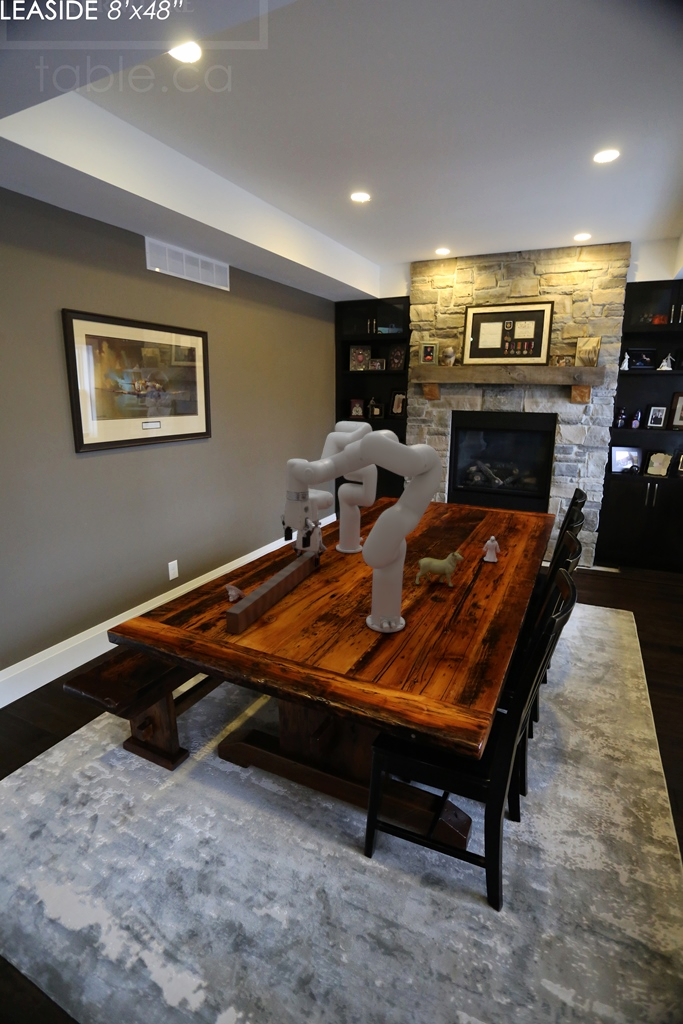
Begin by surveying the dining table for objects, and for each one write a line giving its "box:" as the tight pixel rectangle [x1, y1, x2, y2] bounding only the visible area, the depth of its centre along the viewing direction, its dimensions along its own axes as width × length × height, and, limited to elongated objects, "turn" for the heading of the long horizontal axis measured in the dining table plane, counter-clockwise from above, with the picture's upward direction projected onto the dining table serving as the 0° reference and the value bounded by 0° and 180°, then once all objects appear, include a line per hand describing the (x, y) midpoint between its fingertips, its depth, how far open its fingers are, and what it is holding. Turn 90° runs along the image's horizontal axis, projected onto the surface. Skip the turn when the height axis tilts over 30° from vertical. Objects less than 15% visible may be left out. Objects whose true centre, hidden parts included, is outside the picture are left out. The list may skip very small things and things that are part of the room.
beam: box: [225, 549, 321, 635], centre depth 185 cm, size 67×4×7 cm, turn 160°
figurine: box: [482, 535, 501, 563], centre depth 223 cm, size 8×8×12 cm
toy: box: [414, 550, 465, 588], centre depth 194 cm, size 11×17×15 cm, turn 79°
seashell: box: [224, 584, 247, 602], centre depth 178 cm, size 8×5×8 cm
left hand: (308, 564), depth 209 cm, fingers open, 6 cm apart
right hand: (297, 543), depth 173 cm, fingers open, 9 cm apart
